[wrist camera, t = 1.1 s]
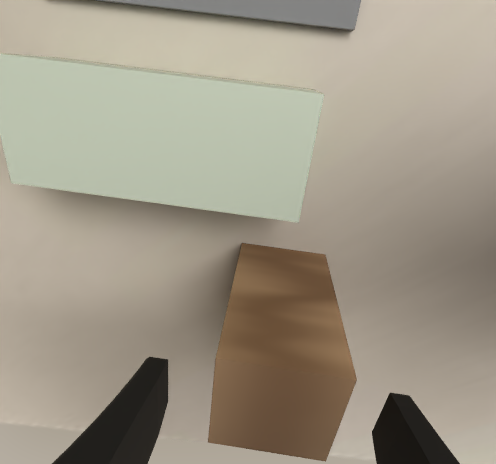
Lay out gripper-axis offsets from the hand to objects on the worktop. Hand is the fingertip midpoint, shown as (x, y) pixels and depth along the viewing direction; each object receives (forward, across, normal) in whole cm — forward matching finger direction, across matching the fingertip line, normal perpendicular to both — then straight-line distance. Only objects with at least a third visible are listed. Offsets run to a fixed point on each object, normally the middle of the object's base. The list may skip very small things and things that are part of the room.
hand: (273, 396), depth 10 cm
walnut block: (+6, 0, 0) cm, 6 cm away
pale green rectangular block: (+6, +5, -7) cm, 11 cm away
